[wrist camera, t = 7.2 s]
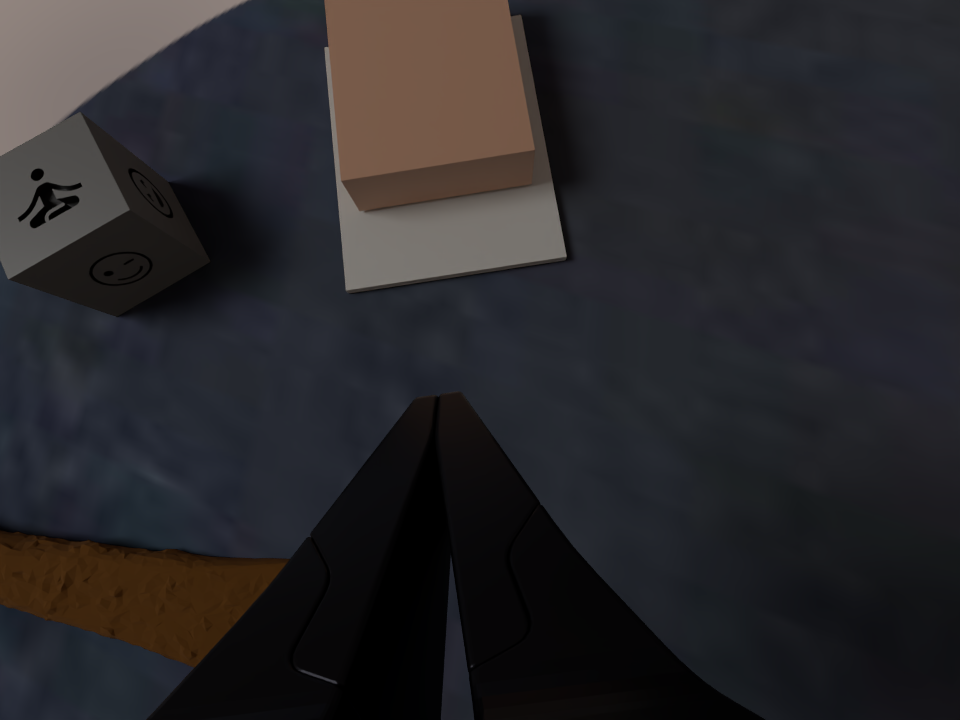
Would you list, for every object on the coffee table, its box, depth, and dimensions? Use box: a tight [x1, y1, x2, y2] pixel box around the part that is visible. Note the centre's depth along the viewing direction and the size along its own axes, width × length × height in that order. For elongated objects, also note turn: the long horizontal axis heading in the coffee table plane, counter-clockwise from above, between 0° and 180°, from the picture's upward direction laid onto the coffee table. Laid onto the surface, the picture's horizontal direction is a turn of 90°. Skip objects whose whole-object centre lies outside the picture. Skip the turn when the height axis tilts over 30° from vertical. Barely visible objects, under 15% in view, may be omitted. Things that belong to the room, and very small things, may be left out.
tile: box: [325, 0, 535, 211], centre depth 22 cm, size 3×8×10 cm
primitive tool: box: [0, 530, 290, 667], centre depth 19 cm, size 19×6×4 cm, turn 81°
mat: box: [325, 15, 567, 293], centre depth 23 cm, size 13×10×1 cm
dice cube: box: [0, 112, 211, 317], centre depth 20 cm, size 5×5×5 cm
